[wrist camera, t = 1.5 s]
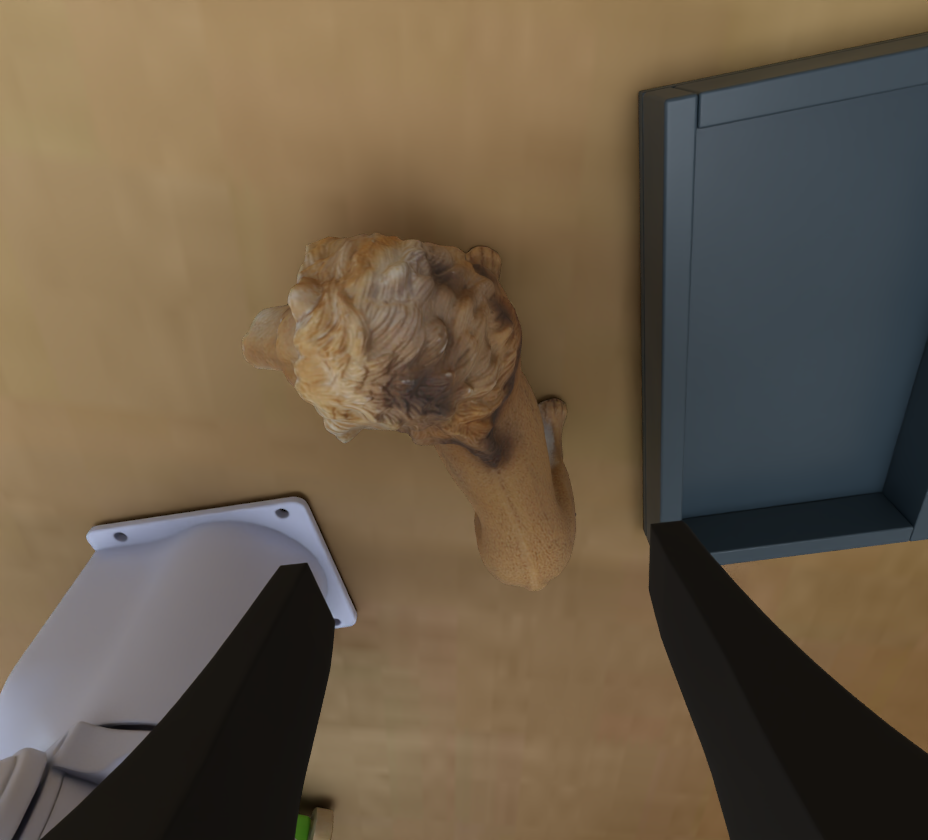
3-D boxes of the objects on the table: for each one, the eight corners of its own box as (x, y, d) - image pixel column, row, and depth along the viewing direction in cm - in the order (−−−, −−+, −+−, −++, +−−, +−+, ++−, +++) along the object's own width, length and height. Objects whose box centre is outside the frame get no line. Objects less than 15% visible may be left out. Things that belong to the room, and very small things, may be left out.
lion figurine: (286, 228, 17) (154, 373, 10) (434, 127, 16) (410, 207, 8) (516, 528, 24) (541, 745, 17) (634, 477, 23) (718, 691, 15)
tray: (643, 530, 25) (659, 573, 23) (638, 91, 15) (664, 99, 13) (892, 496, 24) (932, 539, 22) (1042, 8, 14) (1136, 4, 12)
